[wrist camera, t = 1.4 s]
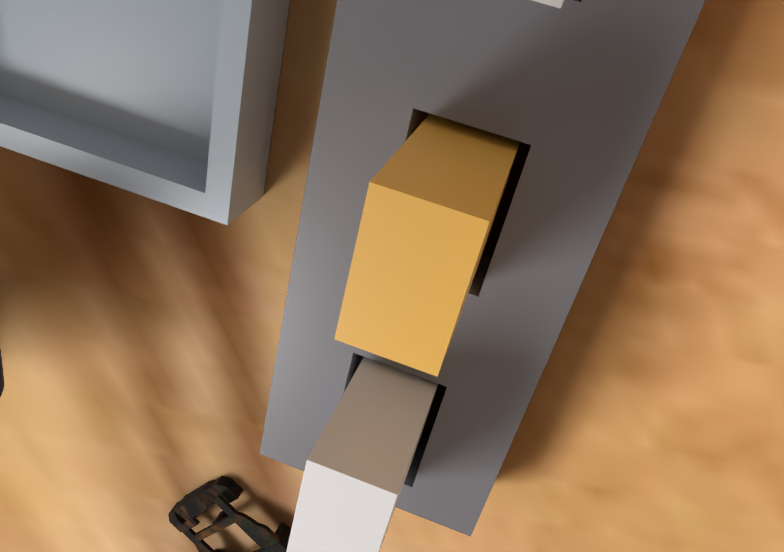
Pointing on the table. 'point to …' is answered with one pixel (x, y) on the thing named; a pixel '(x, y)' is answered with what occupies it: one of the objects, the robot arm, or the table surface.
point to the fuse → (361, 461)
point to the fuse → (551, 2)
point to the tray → (147, 94)
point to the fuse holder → (520, 229)
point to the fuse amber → (423, 241)
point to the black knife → (224, 517)
